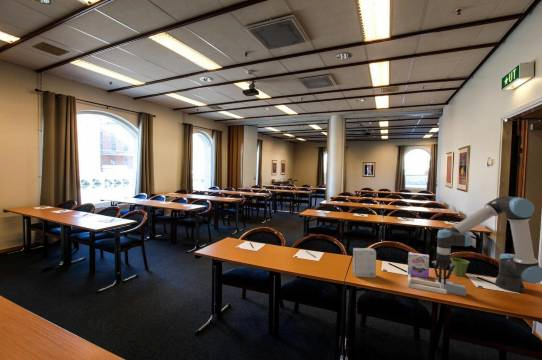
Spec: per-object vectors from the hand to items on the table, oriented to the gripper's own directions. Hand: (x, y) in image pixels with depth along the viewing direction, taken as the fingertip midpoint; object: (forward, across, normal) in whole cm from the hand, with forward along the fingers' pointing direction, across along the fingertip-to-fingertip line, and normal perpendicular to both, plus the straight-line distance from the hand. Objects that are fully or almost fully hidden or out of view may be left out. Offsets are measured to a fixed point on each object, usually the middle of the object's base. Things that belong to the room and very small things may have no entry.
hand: (441, 287), depth 173 cm
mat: (+2, -3, -12) cm, 13 cm away
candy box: (+2, +13, -21) cm, 25 cm away
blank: (+2, -7, 0) cm, 7 cm away
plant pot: (+2, -16, -38) cm, 41 cm away
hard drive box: (+2, +50, -1) cm, 50 cm away
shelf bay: (+2, +9, 0) cm, 9 cm away
